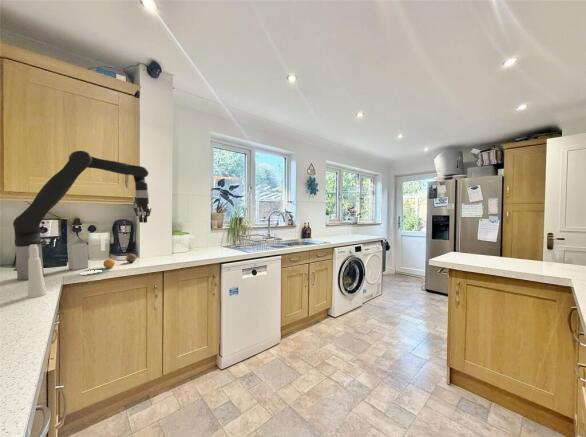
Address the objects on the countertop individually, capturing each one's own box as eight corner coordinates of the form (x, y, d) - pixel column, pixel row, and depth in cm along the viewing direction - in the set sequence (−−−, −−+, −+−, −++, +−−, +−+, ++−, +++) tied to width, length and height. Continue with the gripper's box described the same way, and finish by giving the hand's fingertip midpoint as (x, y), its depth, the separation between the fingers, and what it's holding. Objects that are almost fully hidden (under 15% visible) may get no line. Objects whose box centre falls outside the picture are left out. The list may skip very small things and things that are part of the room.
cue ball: (126, 263, 159) (126, 255, 158) (125, 262, 163) (125, 253, 162) (136, 262, 162) (136, 254, 162) (135, 260, 166) (135, 252, 166)
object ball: (104, 269, 146) (103, 260, 145) (103, 267, 150) (102, 258, 149) (115, 268, 149) (115, 259, 149) (114, 266, 153) (113, 257, 153)
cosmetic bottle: (51, 292, 111) (47, 243, 109) (37, 297, 105) (33, 246, 103) (37, 292, 111) (32, 243, 109) (22, 297, 105) (18, 246, 103)
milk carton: (83, 266, 154) (81, 235, 152) (88, 267, 150) (86, 236, 148) (68, 268, 148) (66, 237, 146) (73, 270, 144) (71, 238, 142)
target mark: (78, 277, 132) (78, 276, 132) (78, 271, 143) (78, 270, 143) (111, 272, 141) (111, 271, 141) (109, 266, 152) (109, 266, 152)
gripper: (129, 197, 167) (130, 222, 169) (144, 197, 163) (146, 223, 164) (139, 197, 174) (140, 221, 176) (154, 197, 170) (155, 222, 171)
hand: (143, 222), depth 170 cm, fingers open, 3 cm apart
